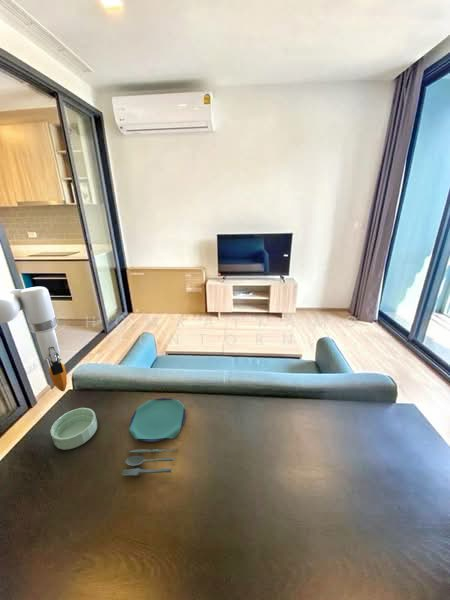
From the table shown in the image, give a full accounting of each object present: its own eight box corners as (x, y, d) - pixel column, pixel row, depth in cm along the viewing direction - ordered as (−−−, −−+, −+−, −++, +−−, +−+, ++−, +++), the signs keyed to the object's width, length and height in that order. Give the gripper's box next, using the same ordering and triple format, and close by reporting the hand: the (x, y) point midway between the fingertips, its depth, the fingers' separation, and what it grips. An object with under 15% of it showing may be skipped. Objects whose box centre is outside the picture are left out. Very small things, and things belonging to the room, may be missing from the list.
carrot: (67, 385, 96) (57, 351, 91) (73, 390, 93) (64, 355, 88) (53, 392, 92) (42, 357, 87) (59, 397, 89) (48, 362, 84)
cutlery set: (189, 401, 101) (188, 396, 100) (177, 476, 73) (177, 470, 72) (139, 402, 100) (139, 397, 99) (109, 478, 72) (107, 472, 71)
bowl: (57, 458, 78) (53, 447, 76) (51, 431, 88) (48, 420, 86) (102, 435, 86) (99, 424, 84) (92, 412, 95) (89, 402, 94)
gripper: (27, 319, 87) (41, 363, 93) (31, 337, 75) (47, 386, 81) (52, 313, 91) (64, 355, 98) (60, 329, 79) (73, 376, 85)
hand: (56, 369), depth 89 cm, fingers closed on carrot, 4 cm apart
